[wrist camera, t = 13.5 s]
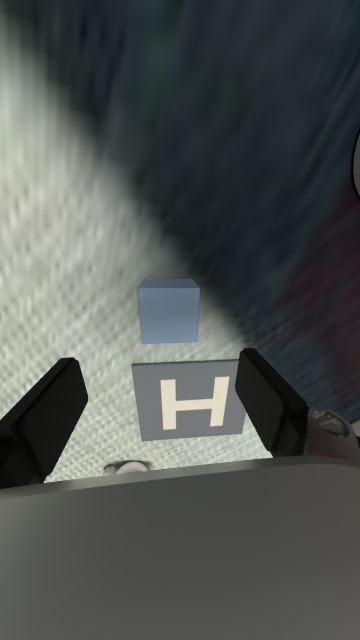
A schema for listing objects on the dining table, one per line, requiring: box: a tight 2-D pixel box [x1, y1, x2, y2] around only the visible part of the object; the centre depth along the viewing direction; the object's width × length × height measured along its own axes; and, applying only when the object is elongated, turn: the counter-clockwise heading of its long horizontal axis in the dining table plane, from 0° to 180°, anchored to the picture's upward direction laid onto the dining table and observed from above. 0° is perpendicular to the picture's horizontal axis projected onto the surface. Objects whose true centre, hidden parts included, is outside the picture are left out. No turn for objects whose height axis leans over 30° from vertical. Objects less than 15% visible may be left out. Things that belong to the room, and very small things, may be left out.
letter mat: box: [132, 359, 246, 441], centre depth 30 cm, size 20×18×1 cm
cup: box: [103, 461, 149, 476], centre depth 34 cm, size 11×8×8 cm
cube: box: [137, 279, 200, 344], centre depth 20 cm, size 6×6×6 cm
